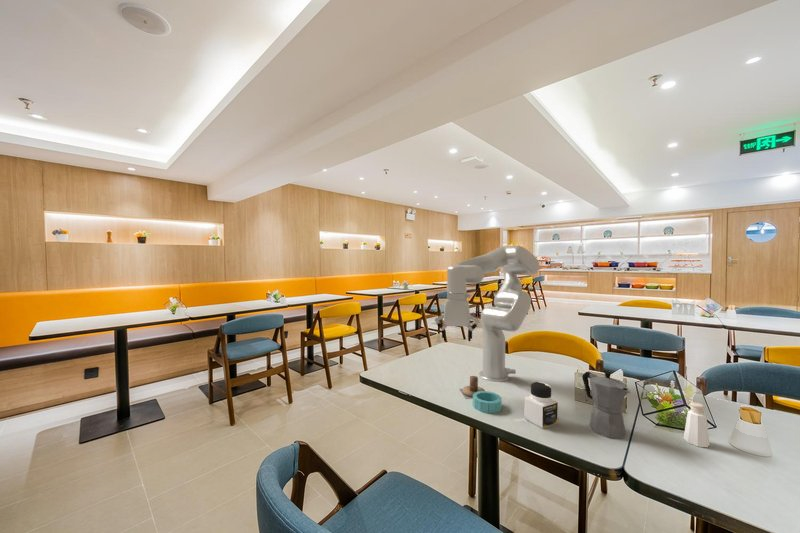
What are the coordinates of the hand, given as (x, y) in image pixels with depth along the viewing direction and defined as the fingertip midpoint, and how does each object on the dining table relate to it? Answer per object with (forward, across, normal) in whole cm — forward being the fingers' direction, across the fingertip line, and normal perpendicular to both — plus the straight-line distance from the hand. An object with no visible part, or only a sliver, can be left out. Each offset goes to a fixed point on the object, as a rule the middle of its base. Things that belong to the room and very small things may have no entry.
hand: (456, 340), depth 120 cm
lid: (+20, -6, +2) cm, 21 cm away
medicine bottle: (+21, -26, +19) cm, 38 cm away
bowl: (+20, -10, +13) cm, 26 cm away
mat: (+20, -6, +2) cm, 22 cm away
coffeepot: (+21, -44, +21) cm, 53 cm away
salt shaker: (+21, -66, +25) cm, 74 cm away
